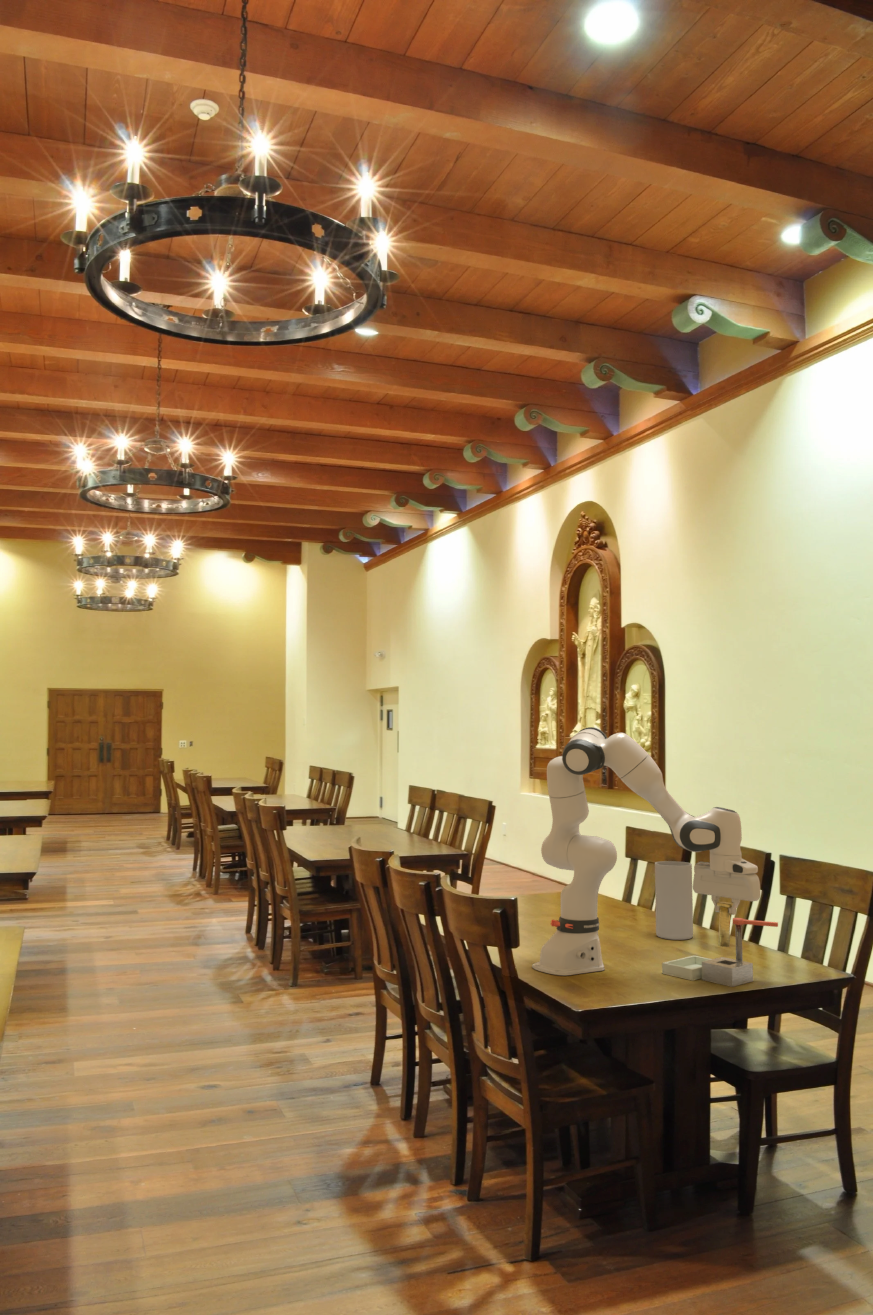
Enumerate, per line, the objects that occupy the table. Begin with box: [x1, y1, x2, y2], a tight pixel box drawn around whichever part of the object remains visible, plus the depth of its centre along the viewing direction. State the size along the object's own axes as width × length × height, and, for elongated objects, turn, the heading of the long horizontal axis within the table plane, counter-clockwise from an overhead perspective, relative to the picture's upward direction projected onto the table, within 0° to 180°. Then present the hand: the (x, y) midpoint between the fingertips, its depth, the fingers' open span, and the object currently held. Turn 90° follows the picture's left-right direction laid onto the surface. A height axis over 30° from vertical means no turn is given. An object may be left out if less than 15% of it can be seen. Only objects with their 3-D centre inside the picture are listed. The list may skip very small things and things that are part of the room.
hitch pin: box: [717, 901, 733, 948], centre depth 277 cm, size 4×4×12 cm
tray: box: [661, 955, 712, 981], centre depth 284 cm, size 16×11×3 cm
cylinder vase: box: [654, 860, 694, 941], centre depth 336 cm, size 12×12×25 cm
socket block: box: [701, 924, 754, 988], centre depth 276 cm, size 12×10×15 cm
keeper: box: [732, 917, 779, 928], centre depth 278 cm, size 12×3×1 cm, turn 63°
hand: (725, 913), depth 278 cm, fingers closed on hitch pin, 3 cm apart
